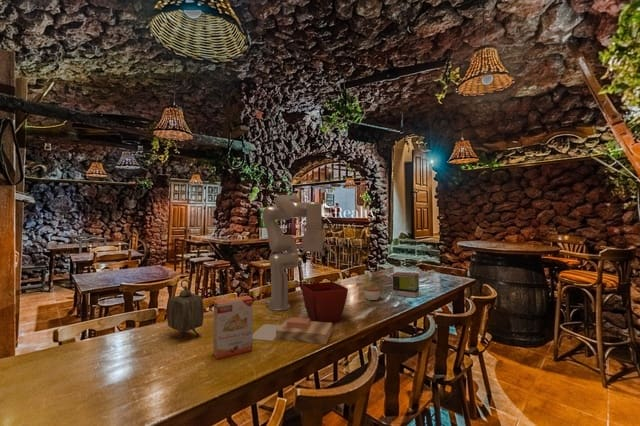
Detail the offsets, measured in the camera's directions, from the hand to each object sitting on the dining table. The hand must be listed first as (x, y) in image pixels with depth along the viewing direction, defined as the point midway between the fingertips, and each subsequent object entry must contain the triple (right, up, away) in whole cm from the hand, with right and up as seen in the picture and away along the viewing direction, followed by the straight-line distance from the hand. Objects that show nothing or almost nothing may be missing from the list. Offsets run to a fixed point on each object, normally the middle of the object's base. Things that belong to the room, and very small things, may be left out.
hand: (313, 263), depth 143 cm
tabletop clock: (-57, -31, -11) cm, 66 cm away
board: (-4, -30, -10) cm, 32 cm away
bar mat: (-21, -31, -6) cm, 38 cm away
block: (-7, -26, -9) cm, 29 cm away
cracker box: (-31, -31, -27) cm, 51 cm away
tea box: (+61, -31, +58) cm, 90 cm away
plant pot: (+5, -31, +12) cm, 33 cm away
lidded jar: (+36, -31, +47) cm, 67 cm away
